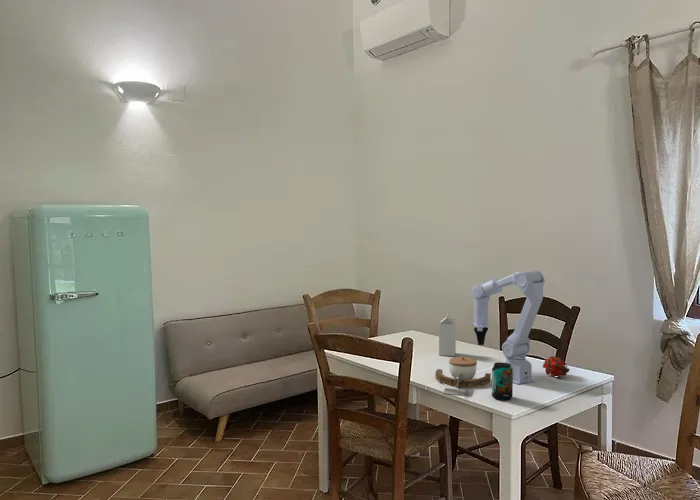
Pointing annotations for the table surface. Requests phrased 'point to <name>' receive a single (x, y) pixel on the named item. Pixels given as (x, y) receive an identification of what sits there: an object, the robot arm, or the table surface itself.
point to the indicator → (459, 380)
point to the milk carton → (447, 336)
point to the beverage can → (502, 381)
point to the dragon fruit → (555, 366)
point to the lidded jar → (463, 367)
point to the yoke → (466, 383)
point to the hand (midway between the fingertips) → (480, 344)
